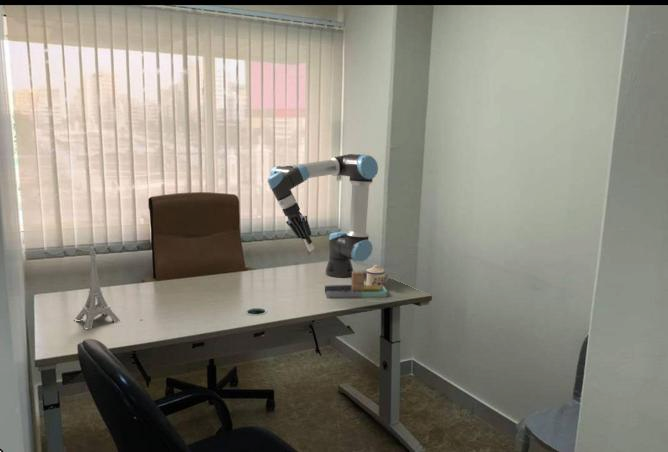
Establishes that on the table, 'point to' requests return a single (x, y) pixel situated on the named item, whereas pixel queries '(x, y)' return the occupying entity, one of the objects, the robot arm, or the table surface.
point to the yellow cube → (375, 288)
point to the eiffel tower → (95, 293)
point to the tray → (376, 293)
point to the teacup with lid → (376, 276)
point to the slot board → (341, 291)
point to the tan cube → (367, 288)
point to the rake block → (357, 281)
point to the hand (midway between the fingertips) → (311, 249)
